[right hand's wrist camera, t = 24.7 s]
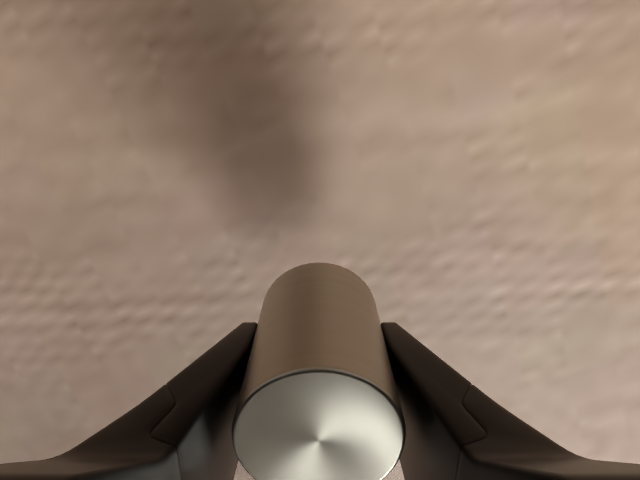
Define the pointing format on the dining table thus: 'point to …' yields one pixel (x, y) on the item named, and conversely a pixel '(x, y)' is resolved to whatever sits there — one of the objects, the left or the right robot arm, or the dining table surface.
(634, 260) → the dining table surface
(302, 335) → the canister
